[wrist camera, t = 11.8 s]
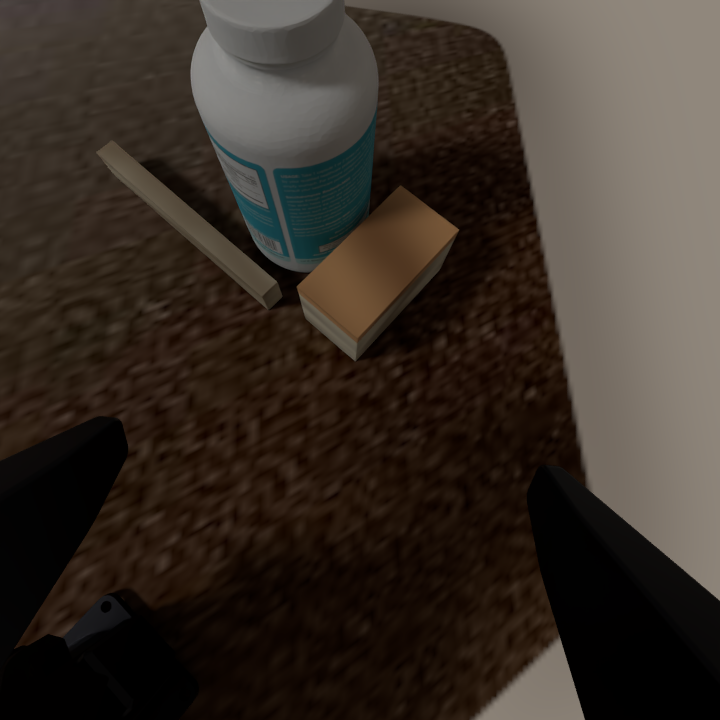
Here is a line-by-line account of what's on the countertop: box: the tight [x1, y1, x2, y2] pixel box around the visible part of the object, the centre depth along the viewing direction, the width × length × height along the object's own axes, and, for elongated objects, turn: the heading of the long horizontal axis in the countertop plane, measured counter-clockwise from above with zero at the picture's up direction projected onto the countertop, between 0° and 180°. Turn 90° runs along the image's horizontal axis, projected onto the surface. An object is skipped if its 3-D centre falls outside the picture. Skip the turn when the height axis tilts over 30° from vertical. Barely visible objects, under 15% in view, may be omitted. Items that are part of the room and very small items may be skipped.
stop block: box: [297, 185, 459, 361], centre depth 22 cm, size 8×4×4 cm, turn 139°
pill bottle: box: [191, 0, 378, 273], centre depth 19 cm, size 8×7×14 cm
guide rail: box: [96, 141, 283, 310], centre depth 24 cm, size 1×14×2 cm, turn 48°
